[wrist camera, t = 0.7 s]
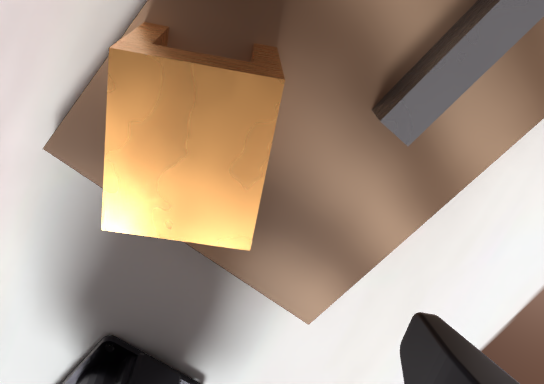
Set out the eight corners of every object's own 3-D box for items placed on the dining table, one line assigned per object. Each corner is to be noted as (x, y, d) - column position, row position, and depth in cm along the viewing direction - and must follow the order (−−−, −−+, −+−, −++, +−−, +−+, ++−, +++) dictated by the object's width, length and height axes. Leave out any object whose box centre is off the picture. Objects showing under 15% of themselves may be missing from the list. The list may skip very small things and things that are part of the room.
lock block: (250, 186, 21) (249, 250, 17) (133, 168, 21) (101, 229, 16) (277, 47, 19) (285, 79, 14) (144, 21, 18) (108, 47, 14)
